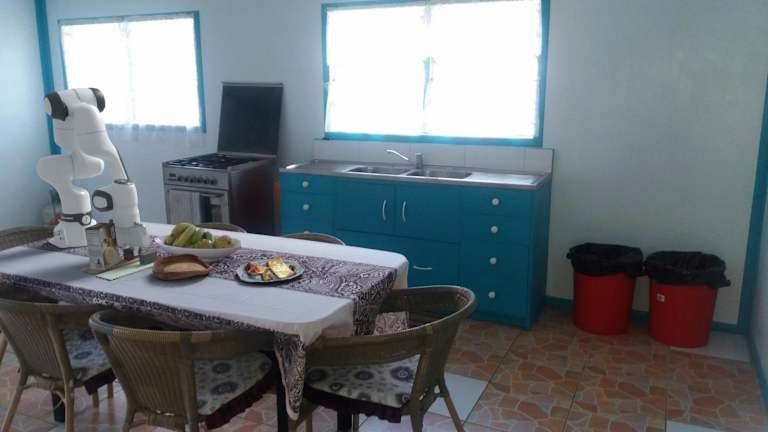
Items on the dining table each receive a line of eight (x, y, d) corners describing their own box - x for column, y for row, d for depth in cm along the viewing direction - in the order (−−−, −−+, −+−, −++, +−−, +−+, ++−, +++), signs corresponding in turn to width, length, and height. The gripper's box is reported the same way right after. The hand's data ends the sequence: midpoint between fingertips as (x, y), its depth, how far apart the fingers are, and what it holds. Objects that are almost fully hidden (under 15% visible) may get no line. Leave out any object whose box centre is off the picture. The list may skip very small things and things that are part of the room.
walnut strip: (80, 270, 228) (79, 259, 227) (132, 255, 247) (131, 244, 246) (95, 274, 224) (93, 263, 223) (146, 258, 242) (145, 247, 241)
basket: (223, 275, 223) (222, 262, 222) (171, 289, 209) (170, 275, 208) (192, 262, 238) (191, 249, 237) (142, 274, 225) (141, 261, 223)
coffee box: (105, 262, 237) (100, 222, 233) (120, 262, 236) (115, 222, 232) (89, 269, 228) (84, 228, 224) (104, 270, 227) (99, 228, 223)
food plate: (231, 268, 229) (231, 259, 228) (292, 260, 238) (291, 252, 237) (244, 291, 207) (244, 281, 206) (310, 282, 216) (310, 272, 215)
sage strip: (95, 276, 222) (94, 264, 221) (148, 260, 241) (146, 249, 239) (111, 280, 217) (109, 268, 216) (163, 263, 236) (162, 252, 235)
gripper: (151, 222, 235) (155, 256, 239) (118, 216, 246) (122, 248, 249) (137, 225, 230) (141, 260, 233) (104, 219, 241) (108, 252, 244)
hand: (131, 254), depth 241 cm, fingers closed on walnut strip, 3 cm apart
